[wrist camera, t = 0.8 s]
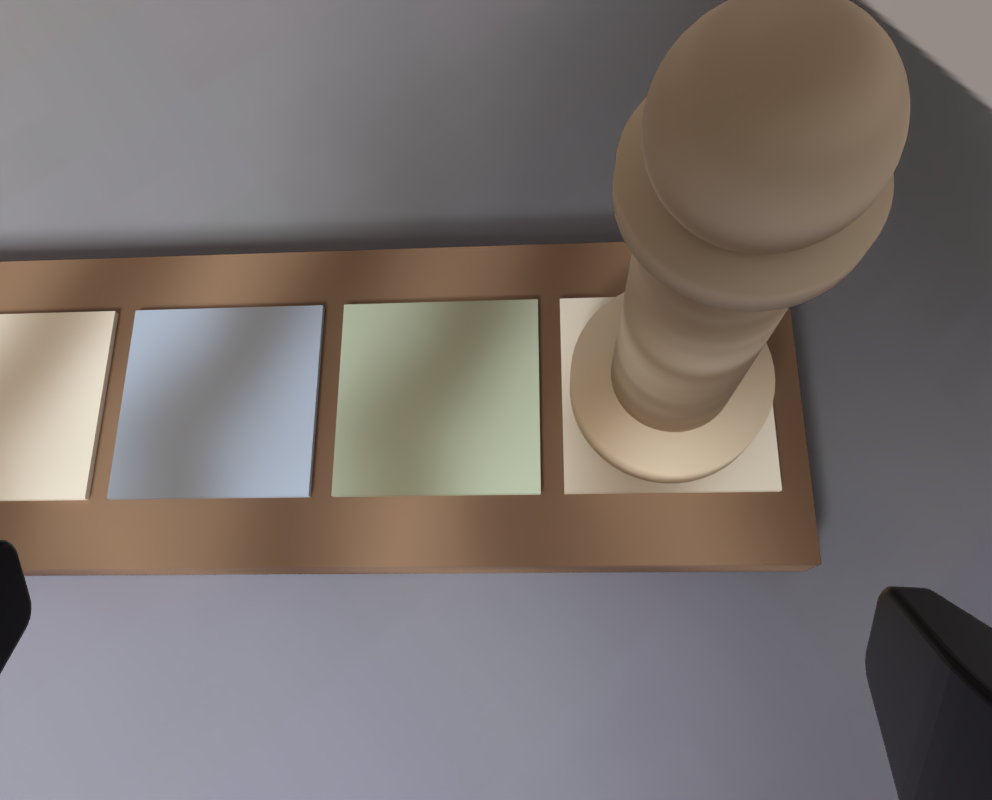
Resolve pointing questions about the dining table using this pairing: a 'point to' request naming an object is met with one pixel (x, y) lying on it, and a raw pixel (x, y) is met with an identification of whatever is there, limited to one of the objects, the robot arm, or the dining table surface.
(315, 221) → the dining table surface
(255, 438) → the game board
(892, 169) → the pawn
